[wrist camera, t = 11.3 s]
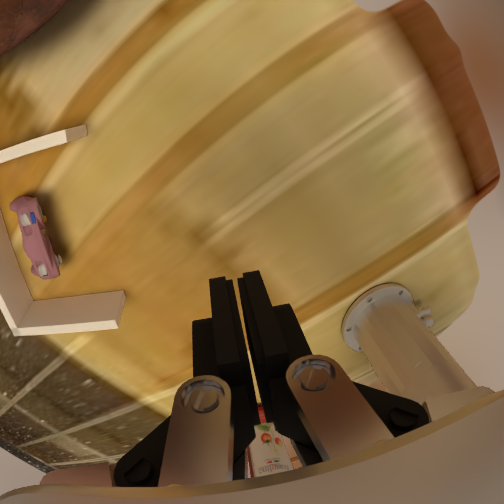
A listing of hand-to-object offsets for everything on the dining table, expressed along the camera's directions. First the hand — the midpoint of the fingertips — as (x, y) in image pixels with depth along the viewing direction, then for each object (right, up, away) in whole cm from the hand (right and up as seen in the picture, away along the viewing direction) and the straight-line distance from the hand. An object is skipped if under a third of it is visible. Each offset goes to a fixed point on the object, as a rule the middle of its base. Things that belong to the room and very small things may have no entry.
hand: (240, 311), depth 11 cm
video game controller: (-24, +5, +22) cm, 33 cm away
